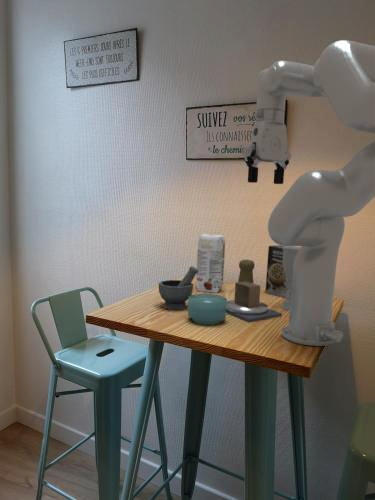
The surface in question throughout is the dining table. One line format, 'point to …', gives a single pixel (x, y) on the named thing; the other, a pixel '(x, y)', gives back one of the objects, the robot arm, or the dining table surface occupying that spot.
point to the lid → (247, 300)
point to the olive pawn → (246, 271)
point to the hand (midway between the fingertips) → (265, 183)
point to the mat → (256, 316)
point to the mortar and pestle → (177, 290)
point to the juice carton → (210, 263)
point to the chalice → (289, 269)
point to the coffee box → (276, 273)
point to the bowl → (207, 308)
